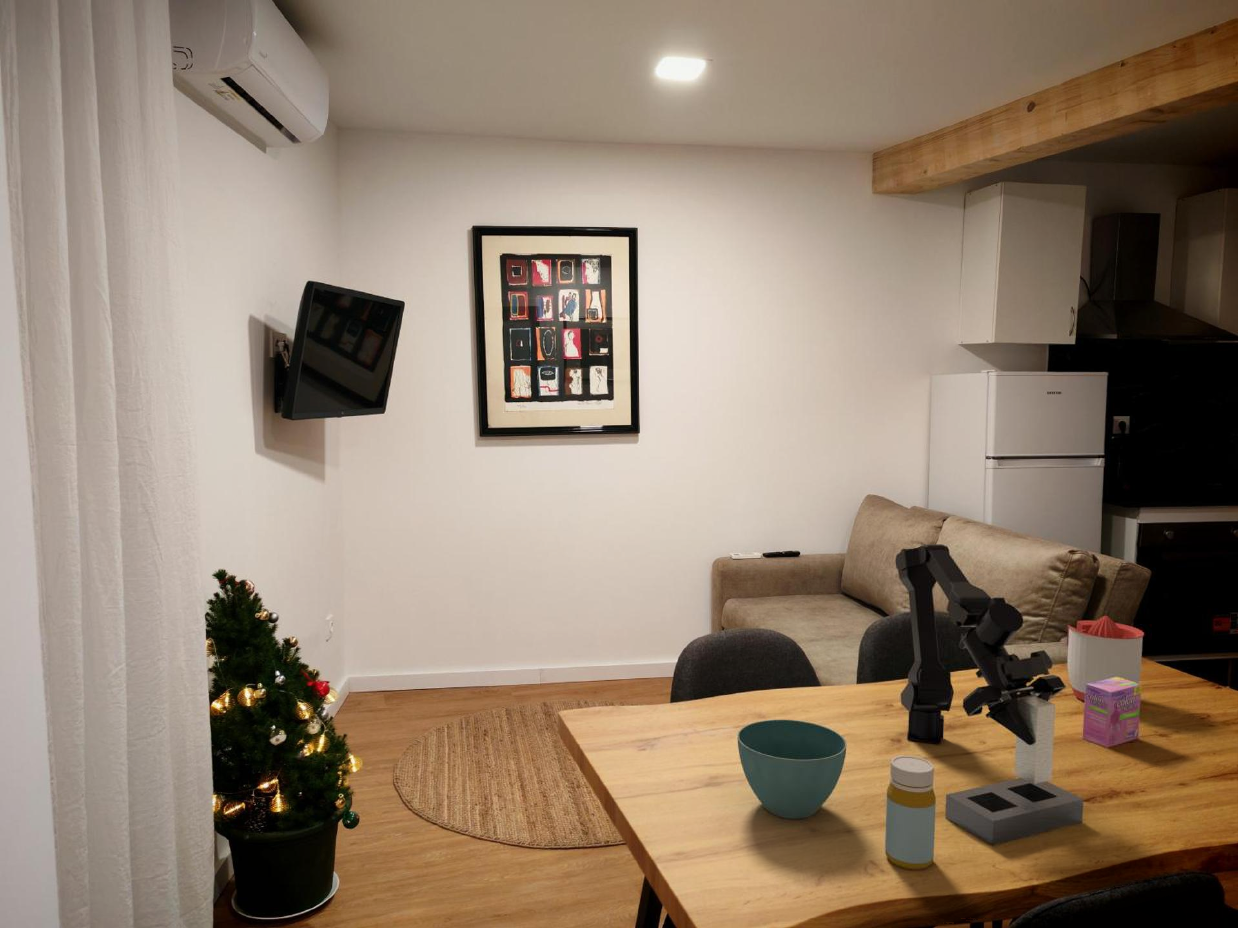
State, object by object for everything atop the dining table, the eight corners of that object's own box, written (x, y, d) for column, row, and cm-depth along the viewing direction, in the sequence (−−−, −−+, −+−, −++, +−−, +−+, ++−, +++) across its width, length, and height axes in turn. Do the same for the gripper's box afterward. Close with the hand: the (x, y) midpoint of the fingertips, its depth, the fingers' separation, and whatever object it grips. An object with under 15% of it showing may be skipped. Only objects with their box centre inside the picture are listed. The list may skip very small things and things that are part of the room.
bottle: (877, 848, 136) (880, 755, 135) (921, 846, 137) (924, 753, 135) (895, 872, 129) (899, 774, 128) (941, 870, 130) (945, 773, 129)
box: (1108, 748, 176) (1111, 691, 175) (1081, 738, 181) (1084, 683, 180) (1139, 739, 181) (1142, 683, 180) (1113, 730, 186) (1115, 675, 185)
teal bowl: (731, 782, 159) (732, 717, 158) (832, 784, 158) (833, 719, 157) (742, 832, 141) (743, 758, 140) (856, 834, 140) (858, 760, 139)
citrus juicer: (1071, 682, 217) (1075, 603, 216) (1149, 700, 204) (1154, 616, 203) (1046, 696, 207) (1049, 613, 205) (1127, 716, 194) (1131, 628, 192)
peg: (1034, 783, 144) (1037, 707, 143) (1014, 774, 148) (1017, 699, 147) (1051, 779, 146) (1055, 704, 145) (1031, 770, 149) (1035, 696, 148)
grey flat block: (992, 845, 137) (993, 821, 137) (945, 817, 146) (946, 794, 146) (1082, 821, 145) (1083, 798, 145) (1032, 796, 154) (1033, 774, 154)
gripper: (978, 640, 145) (1030, 728, 136) (1059, 629, 152) (1113, 712, 143) (941, 673, 153) (988, 758, 143) (1020, 660, 160) (1069, 741, 151)
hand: (1041, 741), depth 145 cm, fingers closed on peg, 4 cm apart
